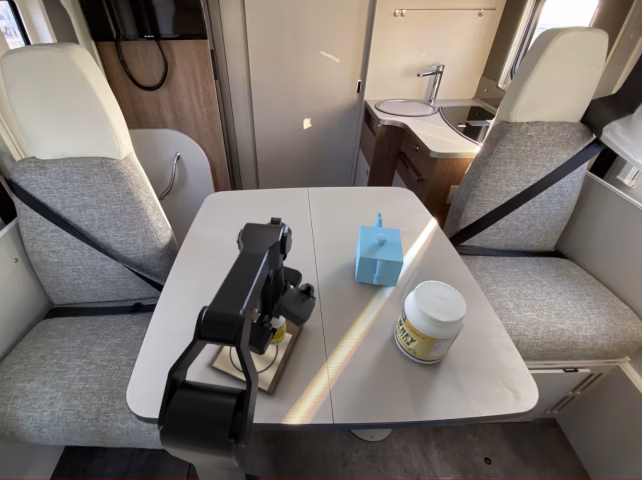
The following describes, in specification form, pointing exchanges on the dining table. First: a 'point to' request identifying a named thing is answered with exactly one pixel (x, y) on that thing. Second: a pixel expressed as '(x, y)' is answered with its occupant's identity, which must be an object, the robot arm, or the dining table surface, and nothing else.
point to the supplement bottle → (278, 330)
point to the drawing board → (259, 359)
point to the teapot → (378, 255)
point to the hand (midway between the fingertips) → (273, 328)
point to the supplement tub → (430, 321)
